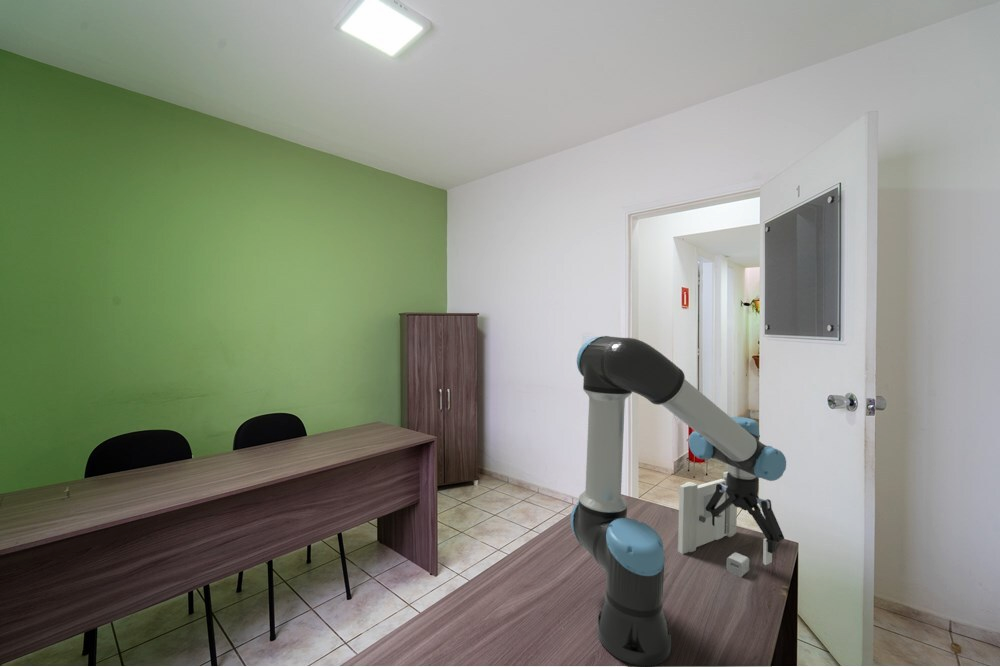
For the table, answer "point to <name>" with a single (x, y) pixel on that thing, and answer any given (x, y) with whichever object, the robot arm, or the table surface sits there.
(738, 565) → the usb wall charger
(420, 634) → the table surface
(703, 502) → the door
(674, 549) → the table surface
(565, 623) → the table surface
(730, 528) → the door frame
